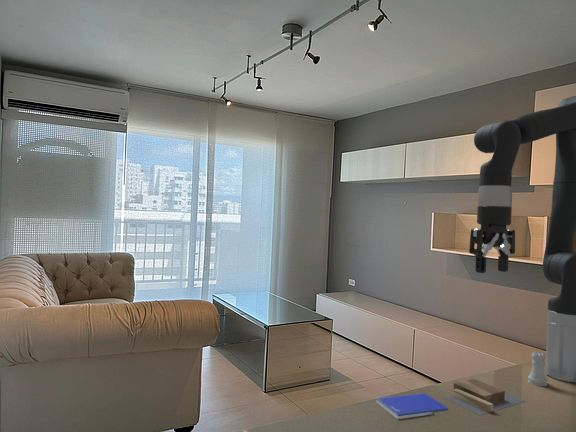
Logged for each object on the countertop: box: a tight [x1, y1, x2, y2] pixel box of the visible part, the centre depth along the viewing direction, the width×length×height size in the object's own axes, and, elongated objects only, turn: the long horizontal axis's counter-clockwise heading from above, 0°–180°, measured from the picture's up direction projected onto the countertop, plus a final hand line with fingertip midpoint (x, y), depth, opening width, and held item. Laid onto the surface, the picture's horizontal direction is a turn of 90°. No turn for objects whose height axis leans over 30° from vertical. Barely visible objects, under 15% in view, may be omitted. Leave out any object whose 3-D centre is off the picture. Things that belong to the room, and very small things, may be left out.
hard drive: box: [375, 392, 449, 420], centre depth 93 cm, size 2×8×12 cm
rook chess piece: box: [527, 350, 548, 387], centre depth 109 cm, size 4×4×8 cm
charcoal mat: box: [444, 392, 526, 416], centre depth 97 cm, size 16×9×1 cm, turn 120°
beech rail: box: [452, 388, 494, 413], centre depth 95 cm, size 1×9×2 cm, turn 30°
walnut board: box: [453, 378, 506, 403], centre depth 99 cm, size 2×8×7 cm
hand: (491, 272), depth 106 cm, fingers open, 8 cm apart
